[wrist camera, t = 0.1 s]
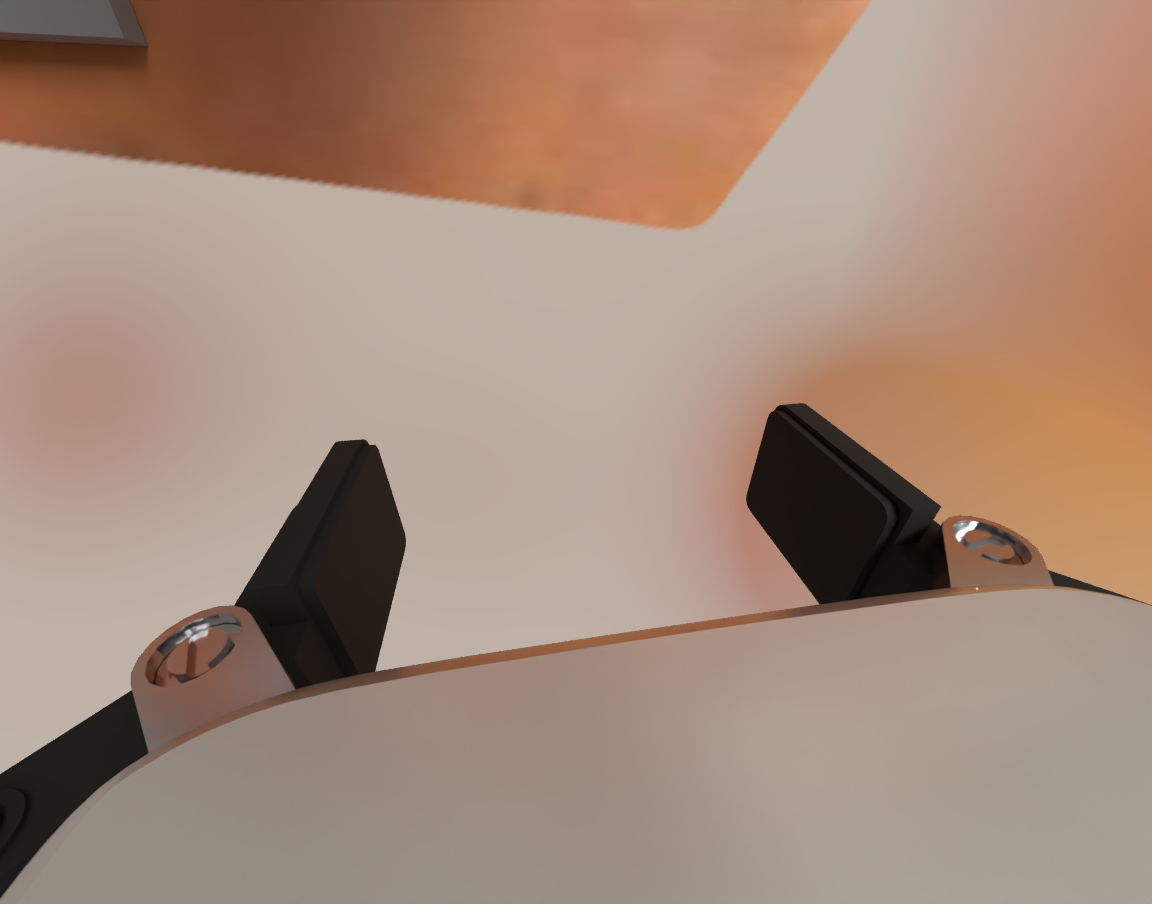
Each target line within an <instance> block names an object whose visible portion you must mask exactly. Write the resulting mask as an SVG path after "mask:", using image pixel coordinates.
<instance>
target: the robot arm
mask: <svg viewBox="0 0 1152 904" xmlns="http://www.w3.org/2000/svg"><path fill="white" fill-rule="evenodd" d="M746 501H747V505H748V508H749V509H750V511H751V512H752V514H753V515H754V517H755V518H756V519H757V521H758V522H759V523H760V525H761V526H762V527H763V529H764V530H765V531H766V533H767V534H768V535H769V537H770V538H771V539H772V541H773V542H774V544H775V545H776V546H777V548H779V550H780V552H781V553H782V554H783V556H784V557H785V558H786V560H787V561H788V562H789V564H790V565H791V566H792V568H793V569H794V570H795V572H796V573H797V574H798V576H799V577H800V578H801V580H802V581H803V583H804V584H805V585H806V586H807V588H808V589H809V590H810V592H811V593H812V595H813V596H814V597H815V599H816V600H817V601H818V603H819V604H820V605H814V606H806V607H799V608H792V609H785V610H777V611H770V612H763V613H757V614H749V615H743V616H736V617H728V618H722V619H715V620H708V621H701V622H695V623H687V624H680V625H673V626H666V627H660V628H653V629H646V630H639V631H633V632H625V633H619V634H612V635H605V636H599V637H592V638H585V639H579V640H572V641H565V642H559V643H552V644H545V645H539V646H532V647H526V648H519V649H512V650H506V651H499V652H493V653H486V654H479V655H473V656H466V657H460V658H454V659H448V660H442V661H436V662H430V663H425V664H418V665H412V666H407V667H400V668H394V669H388V670H382V671H376V672H375V670H376V665H377V662H378V657H379V653H380V649H381V645H382V641H383V637H384V633H385V629H386V625H387V621H388V616H389V612H390V609H391V604H392V600H393V596H394V592H395V588H396V584H397V580H398V576H399V572H400V568H401V564H402V560H403V556H404V552H405V547H406V538H405V532H404V529H403V526H402V523H401V520H400V516H399V513H398V510H397V507H396V504H395V501H394V497H393V494H392V491H391V488H390V484H389V481H388V478H387V475H386V472H385V469H384V466H383V463H382V459H381V456H380V453H379V450H378V448H377V447H376V446H375V445H369V444H368V442H367V441H366V440H364V439H363V440H350V441H339V442H336V443H335V444H334V445H333V447H332V448H331V450H330V452H329V453H328V455H327V457H326V458H325V460H324V462H323V463H322V465H321V467H320V468H319V470H318V472H317V473H316V475H315V477H314V478H313V480H312V482H311V483H310V485H309V487H308V488H307V490H306V492H305V493H304V495H303V497H302V498H301V500H300V502H299V503H298V505H297V506H296V507H295V508H294V509H293V510H292V511H291V513H290V515H289V516H288V518H287V520H286V521H285V523H284V525H283V526H282V528H281V529H280V531H279V533H278V535H277V536H276V538H275V539H274V541H273V543H272V544H271V546H270V548H269V549H268V551H267V552H266V554H265V556H264V557H263V559H262V561H261V562H260V564H259V566H258V567H257V569H256V571H255V572H254V574H253V576H252V577H251V579H250V581H249V582H248V584H247V585H246V587H245V589H244V590H243V592H242V594H241V595H240V597H239V599H238V600H237V602H236V603H235V605H234V606H219V607H215V608H211V609H208V610H204V611H201V612H198V613H196V614H194V615H192V616H190V617H187V618H185V619H183V620H182V621H180V622H179V623H177V624H175V625H174V626H172V627H170V628H169V629H167V630H166V631H165V632H163V633H162V634H161V635H160V636H159V637H158V638H156V639H155V640H154V641H153V642H152V643H151V644H150V645H149V646H148V647H147V648H146V649H145V651H144V652H143V653H142V654H141V656H140V657H139V658H138V660H137V662H136V664H135V666H134V668H133V670H132V672H131V688H132V690H131V691H130V692H128V693H127V694H125V695H124V696H122V697H120V698H119V699H117V700H116V701H114V702H113V703H111V704H110V705H108V706H106V707H105V708H103V709H102V710H100V711H99V712H97V713H95V714H94V715H92V716H91V717H89V718H88V719H86V720H84V721H83V722H81V723H80V724H78V725H77V726H75V727H73V728H72V729H70V730H69V731H68V732H66V733H64V734H62V735H61V736H59V737H58V738H56V739H55V740H53V741H51V742H50V743H48V744H47V745H45V746H44V747H42V748H41V749H39V750H38V751H36V752H34V753H33V754H31V755H30V756H28V757H26V758H25V759H23V760H22V761H20V762H19V763H17V764H16V765H14V766H12V767H11V768H9V769H8V770H6V771H4V772H3V773H1V774H0V904H1152V605H1150V604H1147V603H1144V602H1141V601H1138V600H1135V599H1132V598H1129V597H1126V596H1123V595H1120V594H1117V593H1114V592H1111V591H1108V590H1105V589H1102V588H1099V587H1096V586H1093V585H1091V584H1088V583H1084V582H1082V581H1079V580H1076V579H1073V578H1070V577H1067V576H1064V575H1061V574H1058V573H1055V572H1052V571H1049V570H1048V569H1047V567H1046V564H1045V562H1044V559H1043V557H1042V555H1041V554H1040V552H1039V551H1038V549H1037V548H1036V547H1035V546H1034V545H1033V544H1032V543H1031V542H1029V541H1028V540H1027V539H1026V538H1024V537H1023V536H1021V535H1019V534H1018V533H1016V532H1015V531H1013V530H1011V529H1009V528H1007V527H1005V526H1002V525H1000V524H998V523H995V522H992V521H989V520H986V519H983V518H978V517H973V516H961V515H958V516H953V517H949V518H947V519H946V520H945V521H944V522H943V523H942V525H941V526H940V525H939V524H938V523H937V522H935V521H934V520H933V519H934V518H935V516H936V514H937V513H938V511H939V509H940V508H941V506H940V505H939V504H937V503H936V502H935V501H933V500H932V499H931V498H929V497H928V496H927V495H925V494H924V493H923V492H921V491H920V490H919V489H917V488H916V487H915V486H913V485H912V484H911V483H909V482H908V481H907V480H905V479H904V478H903V477H901V476H900V475H899V474H897V473H896V472H895V471H893V470H892V469H891V468H890V467H888V466H887V465H885V464H884V463H883V462H881V461H880V460H879V459H878V458H876V457H875V456H874V455H872V454H871V453H870V452H868V451H867V450H866V449H864V448H863V447H861V446H860V445H859V444H858V443H856V442H855V441H854V440H852V439H851V438H850V437H848V436H847V435H846V434H844V433H843V432H842V431H840V430H839V429H838V428H837V427H835V426H834V425H832V424H831V423H830V422H829V421H827V420H826V419H825V418H823V417H822V416H821V415H819V414H818V413H817V412H815V411H814V410H813V409H811V408H810V407H809V406H807V405H806V404H803V403H799V404H787V405H779V406H778V407H777V408H776V409H775V410H774V411H773V412H771V413H770V414H769V416H768V419H767V423H766V426H765V430H764V434H763V438H762V441H761V445H760V448H759V452H758V455H757V459H756V463H755V466H754V470H753V474H752V477H751V481H750V485H749V488H748V492H747V497H746Z"/></svg>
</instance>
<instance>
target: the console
mask: <svg viewBox="0 0 1152 904" xmlns="http://www.w3.org/2000/svg"><path fill="white" fill-rule="evenodd" d="M0 40H19V41H40V42H62V43H83V44H104V45H126V46H147V43H146V41H145V38H144V36H143V33H142V31H141V28H140V26H139V23H138V21H137V18H136V16H135V13H134V11H133V8H132V6H131V3H130V0H0ZM147 47H148V46H147Z"/></svg>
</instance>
